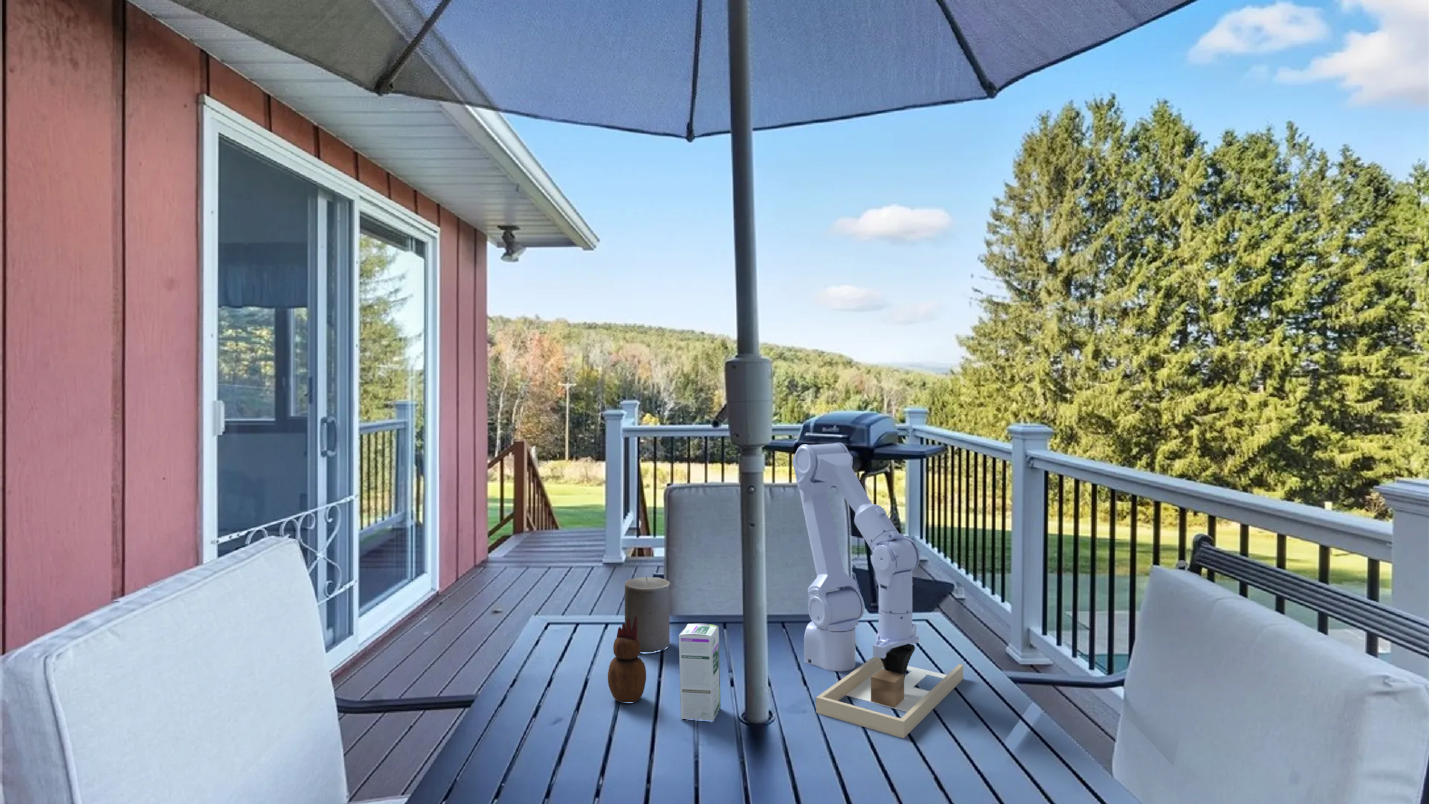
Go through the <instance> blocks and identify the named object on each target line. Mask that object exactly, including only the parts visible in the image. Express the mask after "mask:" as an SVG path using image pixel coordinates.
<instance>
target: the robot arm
mask: <svg viewBox="0 0 1429 804" xmlns="http://www.w3.org/2000/svg"><path fill="white" fill-rule="evenodd" d="M853 458H854V457H853V455H851V453H850V452H849V449H848V447H847V446H846V445H845V444H844V443H842V442H834V443H824V444H801V445H800V446H798V448H797V450H796V451H795V454H794V456H793V458H792V465H793V470H794V474H795V479H796V485H797V488H798V490H799V495H800V501H801V504H802V505H801V506H802V510H803V516H804V520H805V525H806V530H807V535H808V539H809V545H810V549H811V554H812V558H813V559H812V560H813V563H814V569H815V572H816V573H815V574H816V578H815V579H814V581H812V583H811V584H810V585H809V587H808V588H807V595H808V606H807V611H808V615H809V618H810V619H811V621H810V622H809V623H808V624H807V625H806V628H805V631H804V636H803V663H805V664H808V665H811V666H816V667H819V668H821V669H824V670H826V671H832V672H847V671H851V670H854V668H855V667H856V626H859V620H861V619H862V617H863V616H864V614H865V602H864V598H863V596H862V594H861V593H860V590H859V588H858V584H857V581H856V580H855V579H854V578H853V577H851V576H850V575H848V574H847V573H846V572H845V570H844V569H845V568H844V564H843V559H842V556H841V551H840V547H839V542H838V537H837V532H836V528H835V523H834V518H833V514H832V509H831V504H830V501H829V495H828V494H829V491H830V489H831V487H834V486H835V488H836V489H837V491H838V492H839V493H840V494H841V496H842V497H843V498H844V500H845V501H846V502H847V503H848V505H849V506H850V507H851V510H853V512H854V514H855V515H854V520H853V522H854V525H855V526H856V528H857V530H858V531H859V532H860V534H861V536H862V538H863V539H864V541H865V542H866V543H867V545H868V548H870V550H871V552H872V554H871V555H870V562H871V565H872V567H873V569H874V572H875V580H876V583H877V584H878V631H877V635H876V639H875V642H874V643H873V645H872V657H879V658H880V659H881V661H882V663H883V666H884V670H887V671H891V672H896V673H900V674H904V679H905V676H906V675H907V671H908V670H907V666H909V663H910V660H911V658H912V655H913V654H914V652H915V650H916V646H915V645H916V644H917V643H919V642H920V637H919V636H916V635H917V624H916V623H913V571H915V570H916V569H917V568H918V566H919V564H920V560H921V558H920V552H919V548H918V547H917V544H916V543H915V541H914V540H913V539H912V538H909V537H906V536H905V535H904V534H903V533H899V531H898V529H897V528H896V527H895V525H894V523H893V522H892V520H891V519H890V517H889V516H888V514H887V511H886V510H885V508H883V507H882V506H881V505H880V504H879V505H878V504H875V503H872V502H871V500H870V498H869V496H868V493H867V492H866V491H865V489H864V487H863V485H862V484H861V482H860V480H859V478H858V476H857V474H856V473H855V471H854V469H853V463H854V462H853ZM833 589H837V590H833ZM830 590H833V591H830ZM828 591H829V592H828Z"/></svg>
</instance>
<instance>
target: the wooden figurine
mask: <svg viewBox="0 0 1429 804" xmlns="http://www.w3.org/2000/svg"><path fill="white" fill-rule="evenodd" d="M612 650H613V655H614V656H615V657H613V659H612V660H611V661H610V663H609V666H608V670H607V683H608V688H609V690H610V694H611V695H612V697H613V698H614V700H616V701H617V702H618V701H620V702H619V703H621V702H634V703H636V701H637V702H638V701H639V700H640V699H641V698H642V697H643V694H644V691H645V688H646V681H647V670H646V665H645V663H644V661H643V659H642V658H641V657H639V655H640V654H639V653H640V641H639V639H638V638H637V616H635V619H634V622H633V626H632V630H631V625H630V620H629V618H627V625H626V628H625V622H624V623H622V625H621V626H619V627H617V633H616V638H615V639H614V643H613V648H612Z"/></svg>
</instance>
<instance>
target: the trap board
mask: <svg viewBox="0 0 1429 804" xmlns="http://www.w3.org/2000/svg"><path fill="white" fill-rule="evenodd" d="M880 669H883V670H885V669H884V666H883V663H882V661H881V659H880V658H879V657H874V656H872V658H870V659H868V660H867V661H865V662H864V663H863V664H861V665H860V666H859V667H857V668H856V669H853V671H851V672H849V674H847V675H846V676H844V677H842V678H841V679H840V680H838V681H837V682H836V683H834V684H833V685H831V686H830V687H829V688H827V689H825V690H824V691H823V692H821V693H820V694H819V695H817V696H816V697H815V701H816V702H815V707H816V708H815V711H816V714H819V715H822V716H826V717H829V718H832V719H833V718H834V719H836V720H840V721H842V722H843V721H844V722H847V723H850V724H854V725H856V726H860V727H864V728H867V729H871V730H872V731H873V730H874V731H877V732H880V733H884V734H886V735H887V734H888V735H891V736H893V737H897V738H902V739H905V738H906V737H907V736H908V734H910V733H911V732H912V730H913V729H914V728H916V727H917V726H918V725H919V724H920V723H921V722H922V721H923V720H924V719H925V717H927V716H928V715H929V714H930V713H931V712H932V711H933V710H934V709H935V708H936V707H937V706H938V705H939V704H940V703H941V702H942V701H943V700H944V699H945V698H946V696H948V695H949V694H950V693H951V692H952V691H953V690H954V689H955V688H956V687H957V686H958V685H959V684H960V683H961V682H962V681H963V680H964V665H963V664H960V663H959V664H957V665H956V666H955V667H954V668H953V669H952V670H951V671H950V672H949V673H948V674H945V673H941V672H936V671H932V670H929V669H928V670H927V669H925V668H924V669H923V668H918V667H915V666H910V665H908V666H907V670H906V671H908V673H906V675H905V679H904V699H903V700H902V701H901V702H900V703H899V704H898V705H897V706H896V707H895V708H894V707H890V706H886V705H883V704H879V703H875V702H871V676H873V675H874V674H875V673H876V672H878V671H879V670H880ZM927 676H931V677H935V678H939V679H941V680H940V681H939V682H938V683H937V684H936V685H935V686H934V687H933V688H932V689H930V690H926V689H922V688H919V687H915V686H917V684H918V683H920V682H921V681H922V680H923V679H925V677H927ZM845 696H847V697H851V698H854V699H858V700H862V701H865V702H869V703H873V704H877V705H880V706H884V707H887V708H891V709H895V710H898V711H902V712H905V714H904V715H902V716H901V717H897V716H893V715H890V714H885V713H882V712H879V711H875V710H871V709H867V708H864V707H860V706H857V705H853V704H850V703H846V702H842V701H840V700H842V699H843V698H845Z"/></svg>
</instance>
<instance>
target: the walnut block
mask: <svg viewBox="0 0 1429 804" xmlns="http://www.w3.org/2000/svg"><path fill="white" fill-rule="evenodd" d="M903 699H904V674H900V673H896V672H891V671H887V670H885V669H884V670H883V669H880V670H879V671H878V672H876V673H875V674H874V675H873V676H871V702H870V703H872V702H875V703H874V704H876V703H879V704H878V705H880V704H883V705H886V706H885V707H887V706H890V707H889V708H891V707H894V708H895V707H896V706H897V705H898V704H899V703H900V702H901V701H902V700H903ZM883 705H882V706H883ZM894 708H893V709H894Z"/></svg>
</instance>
